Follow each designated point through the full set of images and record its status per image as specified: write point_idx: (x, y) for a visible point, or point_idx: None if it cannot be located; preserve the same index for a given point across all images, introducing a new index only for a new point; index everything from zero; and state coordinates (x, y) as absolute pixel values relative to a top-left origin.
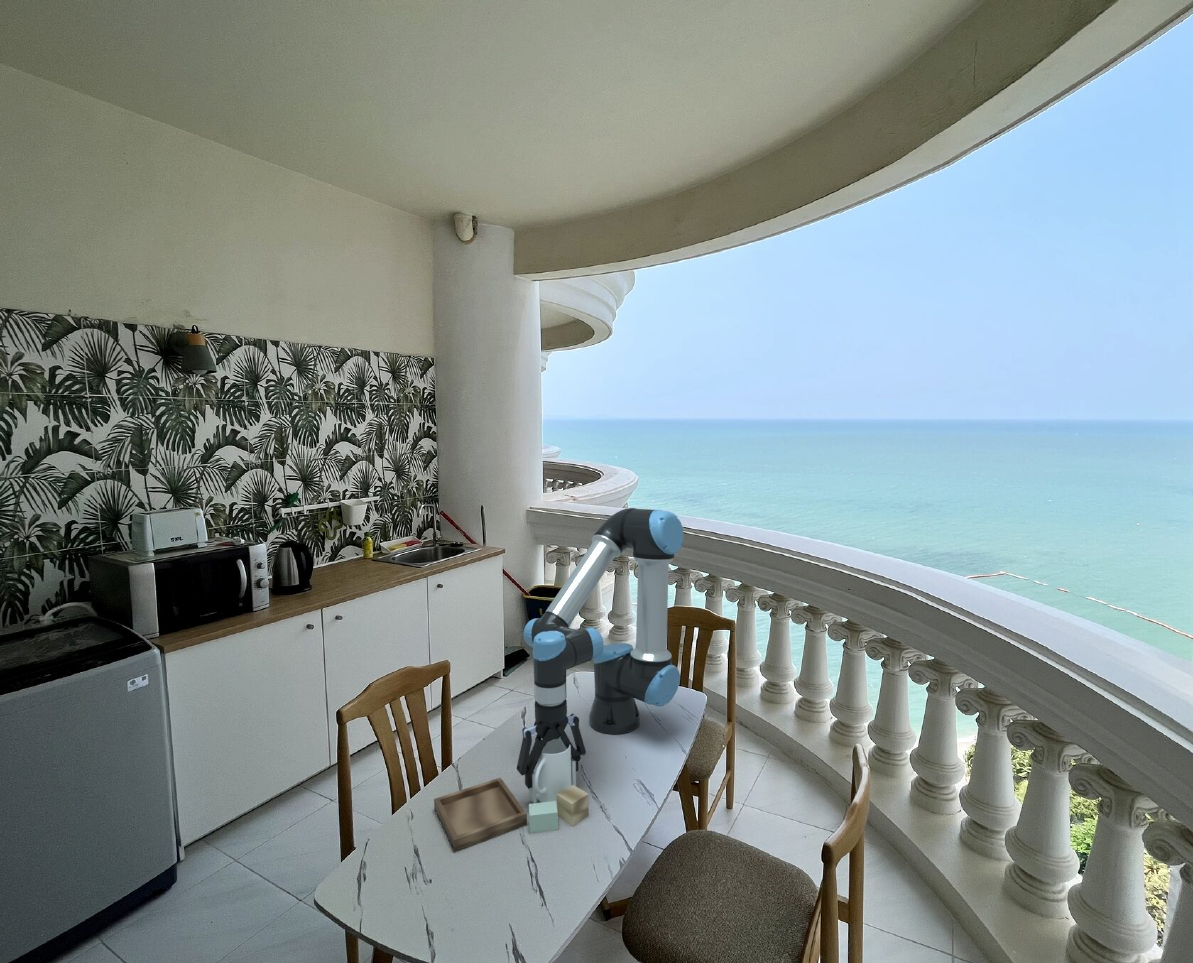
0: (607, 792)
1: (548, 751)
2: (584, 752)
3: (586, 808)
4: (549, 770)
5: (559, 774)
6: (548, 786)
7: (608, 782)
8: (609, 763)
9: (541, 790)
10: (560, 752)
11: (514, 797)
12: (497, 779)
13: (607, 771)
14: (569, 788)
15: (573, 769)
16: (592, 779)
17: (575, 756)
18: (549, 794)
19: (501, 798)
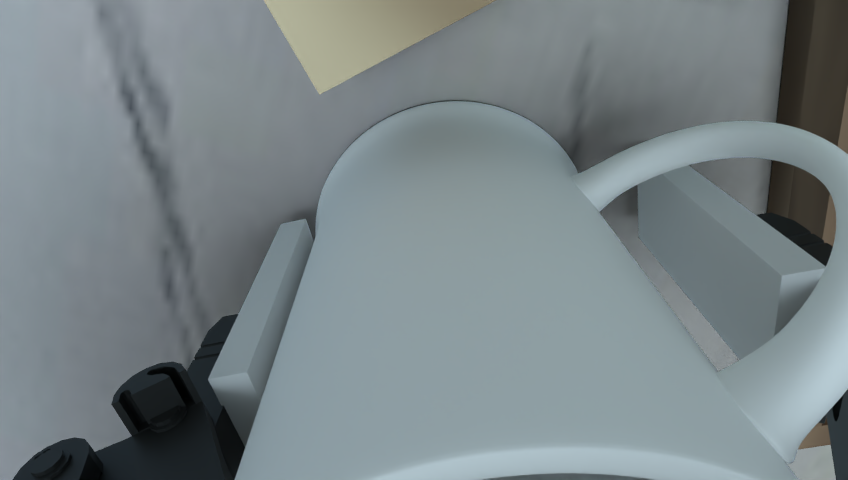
0: (30, 124)
1: None
2: (34, 465)
3: None
4: (623, 270)
5: (473, 211)
6: (571, 188)
7: (17, 240)
8: (5, 422)
9: (656, 156)
10: None
11: (830, 213)
12: (817, 437)
13: (22, 354)
14: (377, 32)
15: (262, 314)
16: (143, 306)
17: (185, 432)
18: (546, 154)
19: None
